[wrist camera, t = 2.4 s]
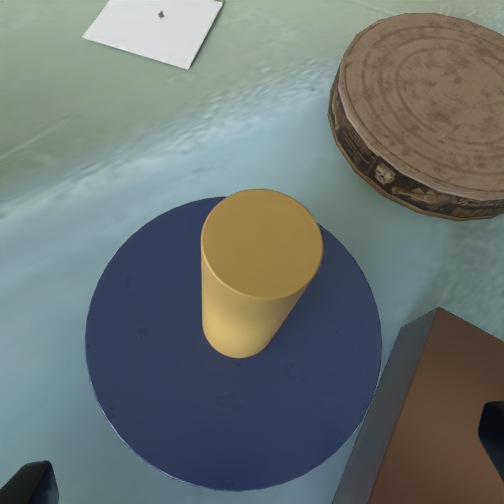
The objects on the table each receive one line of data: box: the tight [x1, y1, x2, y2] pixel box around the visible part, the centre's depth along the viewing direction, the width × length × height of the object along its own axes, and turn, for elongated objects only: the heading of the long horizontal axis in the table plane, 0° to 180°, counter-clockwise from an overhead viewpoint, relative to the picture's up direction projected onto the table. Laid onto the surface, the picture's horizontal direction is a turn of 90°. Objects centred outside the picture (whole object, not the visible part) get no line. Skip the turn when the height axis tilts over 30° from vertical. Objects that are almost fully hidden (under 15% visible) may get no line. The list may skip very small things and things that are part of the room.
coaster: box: [82, 0, 223, 70], centre depth 30 cm, size 8×8×1 cm
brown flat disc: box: [328, 13, 504, 221], centre depth 28 cm, size 16×16×3 cm
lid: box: [85, 189, 382, 492], centre depth 13 cm, size 11×11×8 cm
